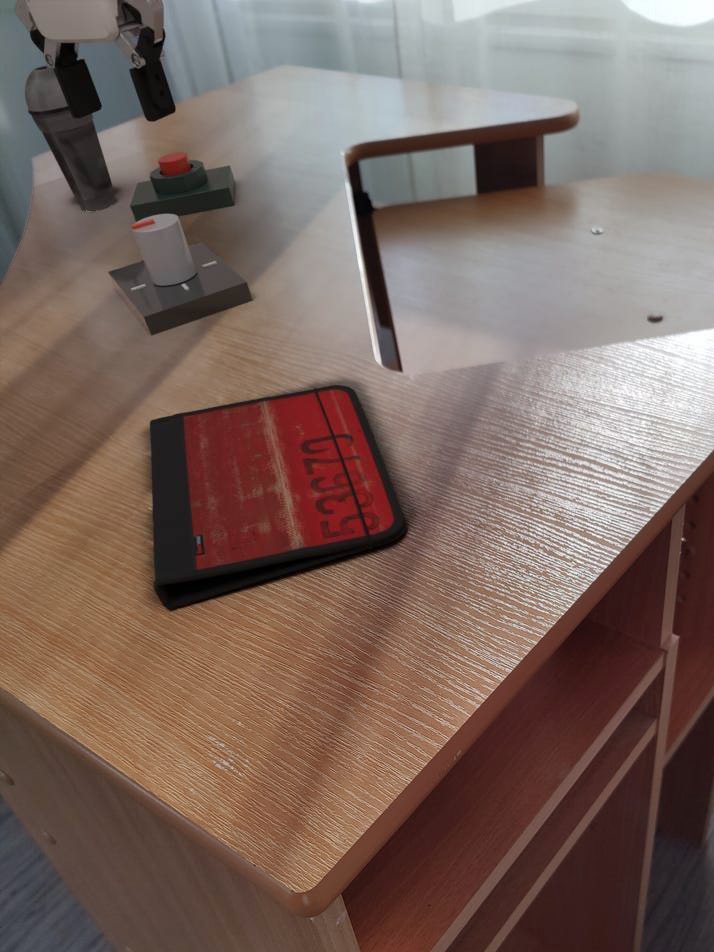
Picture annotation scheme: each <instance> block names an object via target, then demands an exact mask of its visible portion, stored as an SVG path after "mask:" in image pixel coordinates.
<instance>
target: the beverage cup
mask: <svg viewBox="0 0 714 952" xmlns="http://www.w3.org/2000/svg"><path fill="white" fill-rule="evenodd" d="M42 54H43V53H42ZM43 56H44V54H43ZM54 68H56V67H54ZM54 68H51V67H49V66H48V65H47V63H46V62H45V65H41V66H38V67H35V68H34V69H33V70H31V72H30V73H29V75H28V76H27V79H26V81H25V83H24V84H25V85H24V100H25V104H26V106H27V112H28V114H29V115H31V118H32V121H34V123H35V125H36V127H37V128H38V130H39V131H40V132H41V134H42V135H43V137H44V139H45V141H46V143H47V145H48V147H49V149H50V152H51V153H52V155H53V157H54V159H55V161H56V163H57V165H58V167H59V169H60V172H61V173H62V175H63V177H64V179H65V181H66V182H67V185H68V187H69V188H70V191H71V193H72V195H73V197H74V198H75V199H76V201H77V203H78V205H79V206H80V208H81V211H83V210H85V211H86V210H87V211H94V212H97V211H96V210H99V211H102V210H101V209H103V210H106V209H109V208H110V207H109V206H111V205H113V204H114V203H115V202H116V201H117V198H116V194H115V191H114V185H113V182H112V179H111V175H110V173H109V169H108V165H107V162H106V160H105V156H104V153H103V149H102V146H101V142H100V140H99V136H98V132H97V130H96V126H95V123H94V116H93V113H92V114H89V115H87V116H84V117H82V118H74V117H73V116H72V115H71V112H70V110H69V107H68V105H67V102H66V100H65V97H64V95H63V92H62V90H61V87H60V85H59V82H58V80H57V77H56V75H55V72H54V70H53V69H54ZM116 203H117V202H116ZM116 203H115V204H116ZM115 204H114V205H115ZM114 205H113V206H114ZM108 207H109V208H108ZM111 207H112V206H111ZM105 208H106V209H105ZM85 211H84V212H85Z"/></svg>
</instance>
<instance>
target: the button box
mask: <svg viewBox="0 0 714 952" xmlns="http://www.w3.org/2000/svg"><path fill="white" fill-rule="evenodd" d="M189 161H190V164H191V168H192V169H190V170H189V171H186V172H183V173H180V174H174V175H162V172H161V169H160V166H158V167H157V168H155V169H154V170H152V171H150V174H149V179H150V180H146V181H140V182H137V183H136V185H135V189H134V192H133V195H132V199H131V202H130V206H129V207H130V210H131V212H132V214H133V218H134V219H135V223H136V222H138V221H139V220H142V219H144V218H147V217H150V216H154V215H159V214H175V215H177V216H178V217H182V216H188V215H192V214H197V213H203V212H210V211H214V210H219V209H225V208H229V207H235V204H236V203H235V201H236V180H235V178H234V173H233V171H232V167H231V165H225V166H220V167H215V168H209V169H206V168H205V164H204V162H203V161H200V160H197V159H189Z"/></svg>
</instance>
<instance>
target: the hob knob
mask: <svg viewBox="0 0 714 952" xmlns="http://www.w3.org/2000/svg"><path fill="white" fill-rule="evenodd" d="M130 228H131V231H132V234H133V236H134V240H135V242H136V245H137V247H138V250H139V252H140V255H141V257H142V261H144V263H145V265H146V268H147V270H148V273H149V276H150V278H151V281H152V283H153V284H155V285H159V286H168V285H174V284H178V283H182V282H184V281H187V280H189V279H190V278H192V277H193V276H194V275H195V274H196V273H197V269H196V266H195V263H194V260H193V258H192V255H191V252H190V249H189V246H190V245H189V244H188V243H189V242H188V241H187V238H186V234H185V232H184V229H183V226H182V223H181V220H180V216H177V215H175V214H159V215H154V216H150V217H147V218H144V219H142V220H139V221H138V222H136V221H135V222H134V223H133V224H130Z"/></svg>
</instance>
